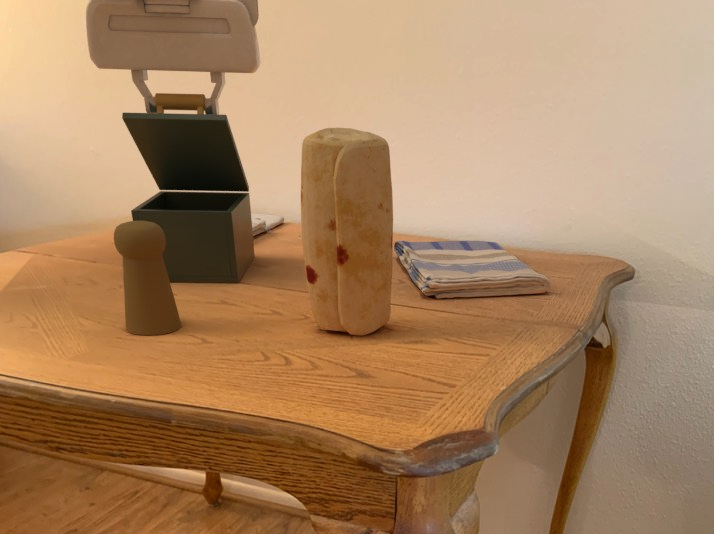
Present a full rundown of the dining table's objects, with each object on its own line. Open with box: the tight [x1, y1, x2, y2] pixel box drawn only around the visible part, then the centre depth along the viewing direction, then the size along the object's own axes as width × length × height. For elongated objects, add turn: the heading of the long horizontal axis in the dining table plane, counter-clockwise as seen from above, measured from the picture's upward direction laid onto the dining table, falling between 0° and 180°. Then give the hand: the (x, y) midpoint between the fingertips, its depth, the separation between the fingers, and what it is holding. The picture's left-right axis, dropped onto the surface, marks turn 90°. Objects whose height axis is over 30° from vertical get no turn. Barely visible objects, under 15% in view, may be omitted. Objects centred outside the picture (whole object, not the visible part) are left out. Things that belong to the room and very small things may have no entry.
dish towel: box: [393, 240, 551, 300], centre depth 107 cm, size 17×24×3 cm
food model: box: [300, 127, 394, 337], centre depth 81 cm, size 10×7×20 cm
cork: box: [113, 220, 182, 336], centre depth 83 cm, size 6×6×11 cm
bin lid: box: [121, 92, 250, 193], centre depth 101 cm, size 16×13×5 cm
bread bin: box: [130, 190, 255, 284], centre depth 105 cm, size 15×13×9 cm
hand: (182, 113), depth 97 cm, fingers closed on bin lid, 6 cm apart
